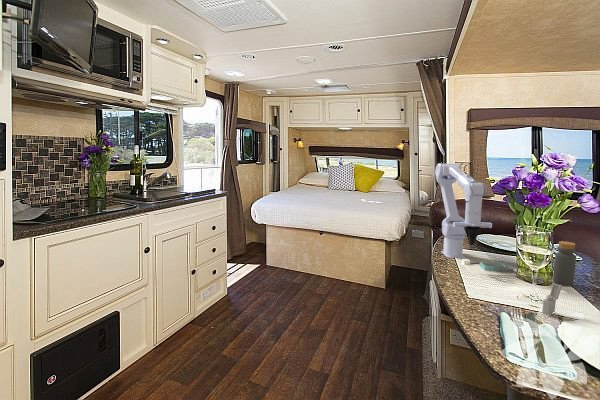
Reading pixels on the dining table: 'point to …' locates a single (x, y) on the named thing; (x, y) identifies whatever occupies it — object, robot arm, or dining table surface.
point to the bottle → (564, 264)
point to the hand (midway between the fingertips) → (471, 244)
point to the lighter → (551, 300)
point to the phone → (491, 266)
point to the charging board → (476, 269)
